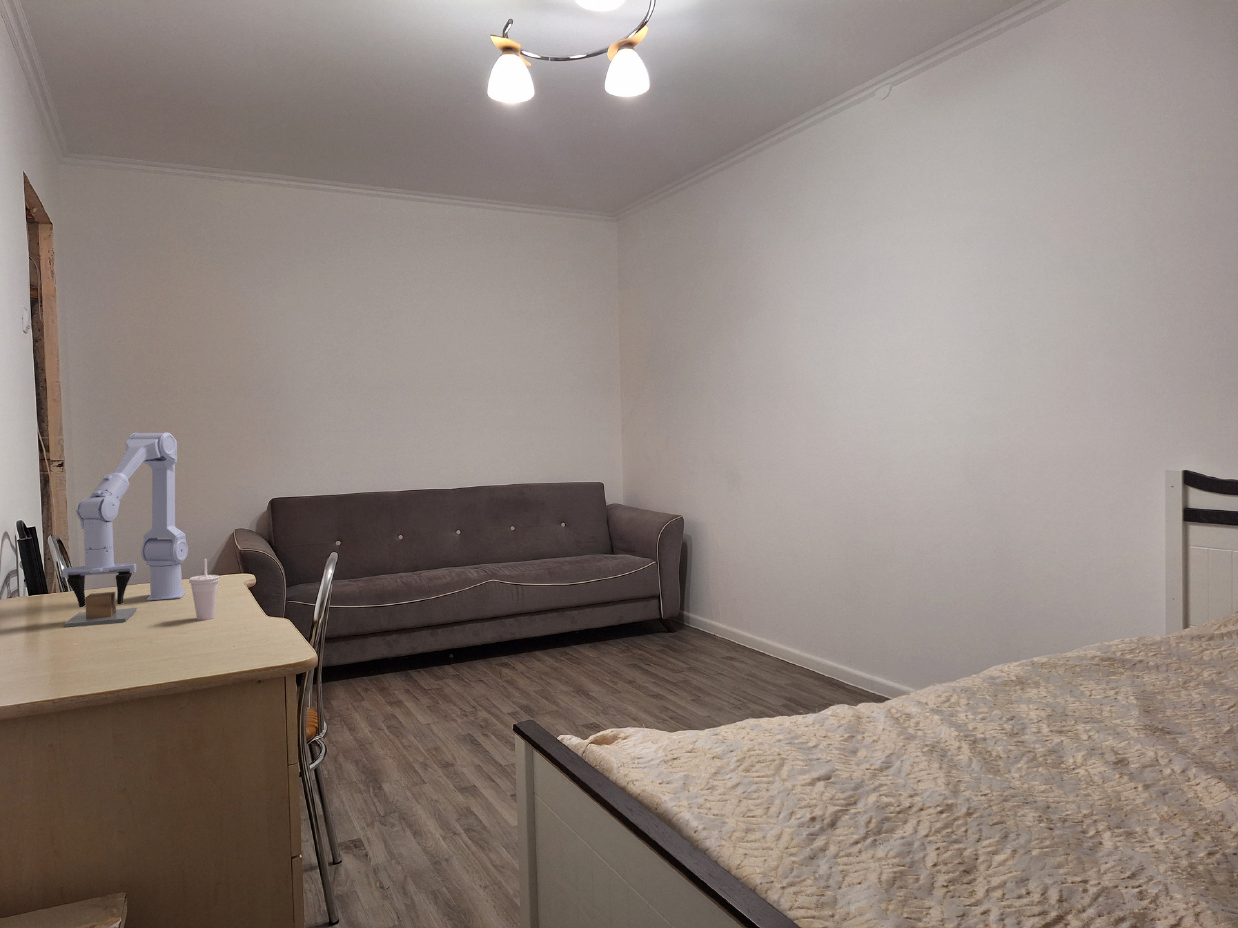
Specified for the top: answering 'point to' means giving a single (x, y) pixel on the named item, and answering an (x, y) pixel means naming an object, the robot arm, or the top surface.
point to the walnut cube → (100, 605)
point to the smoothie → (205, 594)
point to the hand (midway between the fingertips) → (101, 604)
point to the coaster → (118, 617)
